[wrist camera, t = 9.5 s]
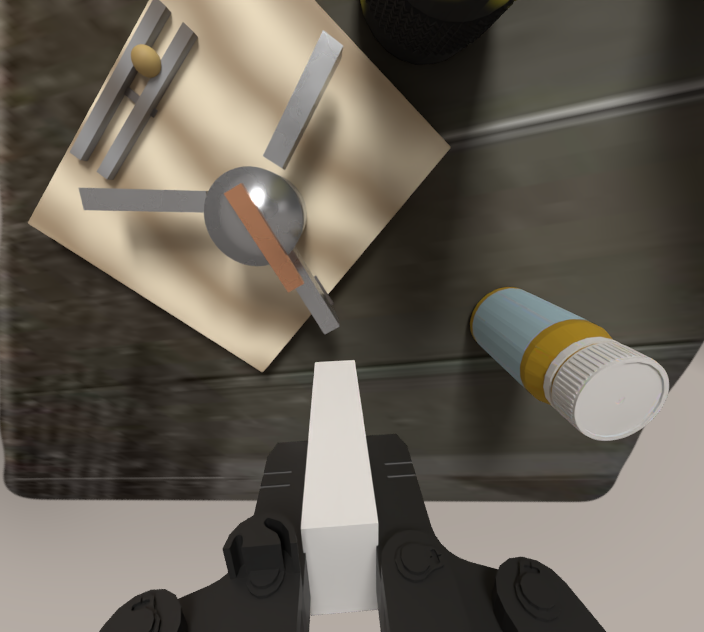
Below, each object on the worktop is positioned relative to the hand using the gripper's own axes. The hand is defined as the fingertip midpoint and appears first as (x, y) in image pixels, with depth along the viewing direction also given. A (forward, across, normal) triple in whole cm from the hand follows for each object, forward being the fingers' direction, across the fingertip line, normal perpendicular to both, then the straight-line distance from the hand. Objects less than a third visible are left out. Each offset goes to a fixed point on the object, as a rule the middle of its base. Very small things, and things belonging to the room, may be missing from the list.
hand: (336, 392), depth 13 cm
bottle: (+20, +17, -6) cm, 27 cm away
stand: (+20, -7, +8) cm, 22 cm away
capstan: (+18, -4, +4) cm, 19 cm away
